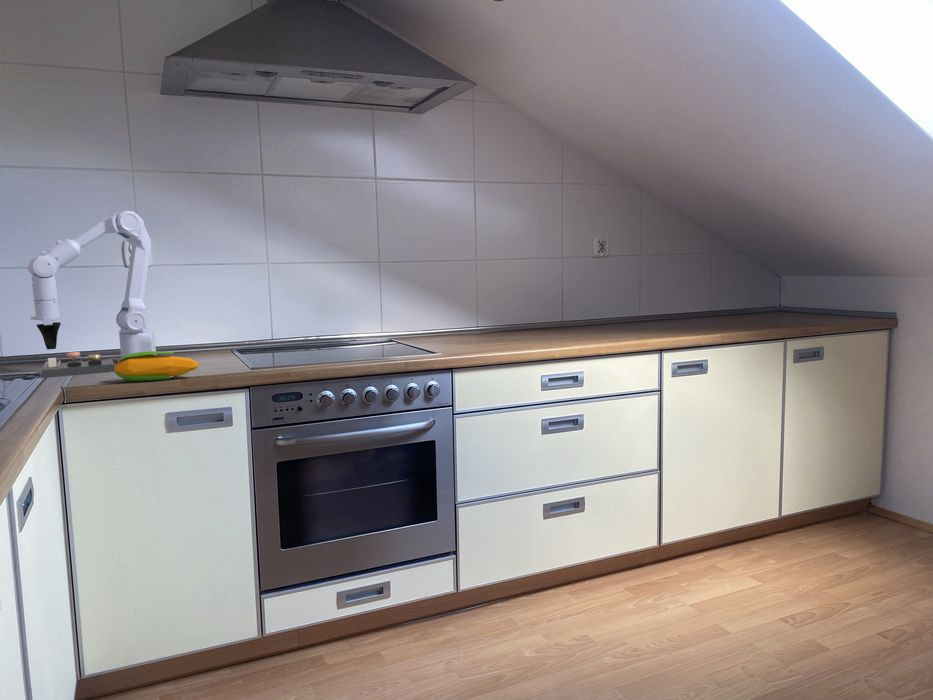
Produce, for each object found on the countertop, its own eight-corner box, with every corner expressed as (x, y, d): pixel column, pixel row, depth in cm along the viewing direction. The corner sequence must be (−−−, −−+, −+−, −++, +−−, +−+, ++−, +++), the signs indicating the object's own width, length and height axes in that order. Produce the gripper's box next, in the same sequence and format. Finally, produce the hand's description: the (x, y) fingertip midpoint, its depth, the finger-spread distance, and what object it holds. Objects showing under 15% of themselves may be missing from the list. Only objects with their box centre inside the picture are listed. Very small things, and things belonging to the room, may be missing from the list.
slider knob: (56, 365, 187) (55, 357, 186) (56, 366, 185) (55, 358, 185) (49, 366, 186) (48, 358, 186) (48, 367, 184) (47, 359, 184)
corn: (116, 349, 176) (200, 346, 181) (119, 379, 177) (202, 374, 182) (109, 355, 169) (196, 351, 174) (112, 386, 170) (198, 381, 175)
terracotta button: (80, 358, 192) (79, 351, 191) (80, 360, 189) (79, 352, 189) (67, 359, 190) (66, 352, 190) (67, 361, 187) (66, 353, 187)
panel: (112, 366, 199) (111, 355, 199) (114, 371, 190) (113, 360, 189) (43, 371, 191) (42, 361, 191) (42, 377, 182) (41, 366, 181)
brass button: (101, 361, 194) (100, 353, 194) (101, 362, 191) (100, 355, 191) (88, 362, 193) (87, 354, 192) (88, 363, 190) (87, 356, 190)
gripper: (30, 299, 195) (35, 347, 196) (27, 302, 182) (33, 353, 184) (59, 298, 198) (64, 345, 200) (58, 300, 186) (64, 350, 187)
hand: (51, 349), depth 192 cm, fingers closed
